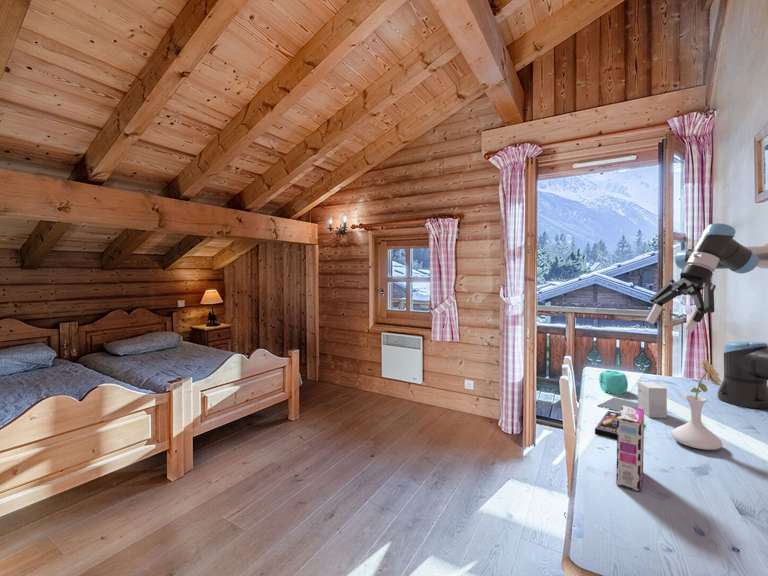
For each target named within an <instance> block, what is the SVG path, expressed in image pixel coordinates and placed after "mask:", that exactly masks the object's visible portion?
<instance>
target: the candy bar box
mask: <svg viewBox="0 0 768 576" xmlns="http://www.w3.org/2000/svg"><path fill="white" fill-rule="evenodd" d="M618 413H619V415H618V417H617V439H616V481H615V484H616V485H617V486H619V487H623V488H626V489H628V488H629V490H631V489H633V490H632V491H634V490H637V491H636V492H638V491H639V493H640V492H641V488H642V480H643V476H644V440H645V437H644V436H645V435H644V434H645V414H644V409H639V408H634V407H628V406H622V408H621V410H620V412H618Z"/></svg>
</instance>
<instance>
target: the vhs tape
mask: <svg viewBox="0 0 768 576" xmlns="http://www.w3.org/2000/svg"><path fill="white" fill-rule="evenodd" d="M618 415H619V412H618V411H613V410H607V412H606V413H605V414H604V416H603V417H602V418H601V419H600V421H599V422H598V423H597V425H596V426H595V427H594V434H595V435H597V434H599V435H598V436H601V435H603V437H605V436H606V438H609V437H610V438H609V439H614V440H617V417H618Z"/></svg>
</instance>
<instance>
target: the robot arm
mask: <svg viewBox="0 0 768 576" xmlns="http://www.w3.org/2000/svg"><path fill="white" fill-rule="evenodd" d="M735 234H736V229H735V228H734V226H732V225H729V224H725V223H719V222H717V223H710V224H708V225H707V226H706V227H705V229H703V232H701V234H700V236H699V238H698V240H697V242H696V245H695V247H694V248H688V249H682V250H679V251H678V252H677V253H676V254H675V258H674V261H675V262H674V263H675V265H676V267H678V268H679V269H680V270H681V272H680V273H679V275H680V277H679V279H678V280H675V279H673V278H670V279H669V280H668V281H667V283H665V285H664V286H662V288H660V289H659V290H658V291H657V292H656V293H655V294H653V295H652V297H650V298H649V302H651V303H652V305H651V308H650V310H649V313H648V316H647V317H646V319H645V321H646V322H648V323H649V324H652V325H655V322H656V321H657V319H658V317H659V316H660V314H661V312H662V310H663V305H666V304H667V303H669V302H670V301H672V300H673V299H675V298H676V297H680V296H681V295H683V296H691V297H692V300H693V301H694V305H695V308H696V309H693V310H692V311H691V314H690V315H689V317H688V319H687V321H686V322H685V325H684V326H683V329H684V330H685V331H687V332H690V333H693V332H694V331H695V328H696V326H698V323H700V322H702V320H703V318H704V315H705V314H707V313H711V314H712V313H715V310H716V309H715V290H716V287H717V286H716V284H714V283H712V282H711V281H710V280H711V279H712V277H713V275H714V274H713V273H714V272H715V271H716V270H717V269H718V270H719V269H726V270H727V269H729V270H730V271H732V272H734V273H736V274H740V275H741V274H747V273H749V272H751V271H754V270H755V269H756V268H757V267H758V268H760V269H768V242H767V243H761V244H759V245H758V246H755V245H754V246H744V245H743V244H741V243H740V242H738V241H737V240H735V239H734V238H735ZM702 291H703V294H702ZM723 347H724V349H723V354H722V355H723V380H722V383H720V385H721V386H720V385H719V388H718V390H717V398H718V400H720V401H722V402H725V403H727V404H731V405H735V406H739V407H744V408H745V407H746V408H752V409H763V410H764V409H765V410H766V409H768V343H767V342H766V341H765V342H763V341H728V342H726V343H725V344H724V346H723Z"/></svg>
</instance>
